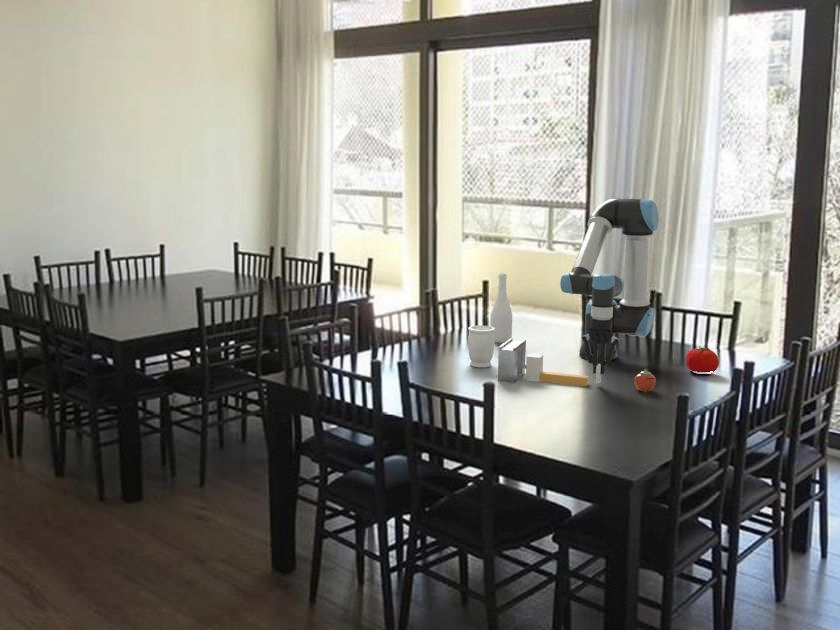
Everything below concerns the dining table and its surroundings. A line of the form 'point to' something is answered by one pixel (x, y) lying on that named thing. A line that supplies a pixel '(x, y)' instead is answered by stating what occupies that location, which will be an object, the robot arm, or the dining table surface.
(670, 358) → the dining table surface
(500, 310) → the wine bottle
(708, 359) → the tomato
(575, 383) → the plug
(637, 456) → the dining table surface
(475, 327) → the jar
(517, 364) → the box
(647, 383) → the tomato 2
